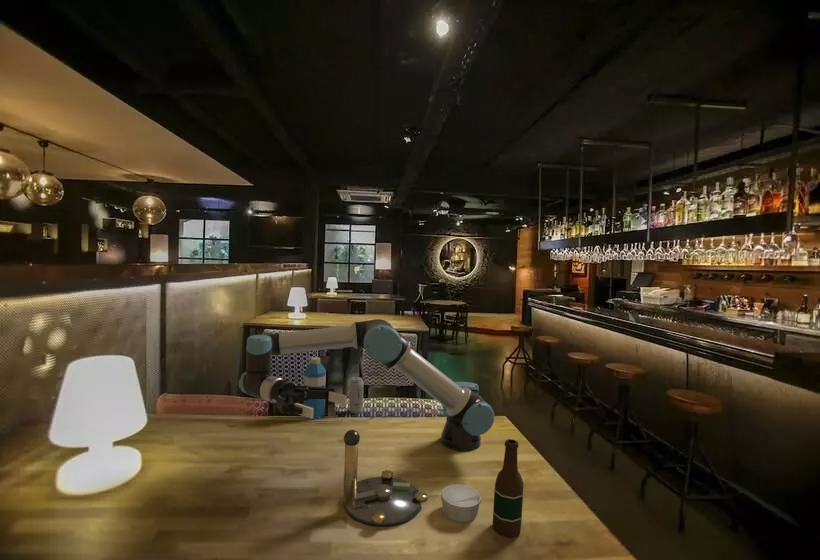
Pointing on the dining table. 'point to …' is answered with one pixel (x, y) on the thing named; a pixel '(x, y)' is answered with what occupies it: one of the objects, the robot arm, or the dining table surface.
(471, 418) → the robot arm
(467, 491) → the ramekin
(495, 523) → the beer bottle
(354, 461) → the ball topped crank handle
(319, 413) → the water bottle
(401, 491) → the plate
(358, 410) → the energy drink can
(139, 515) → the dining table surface
